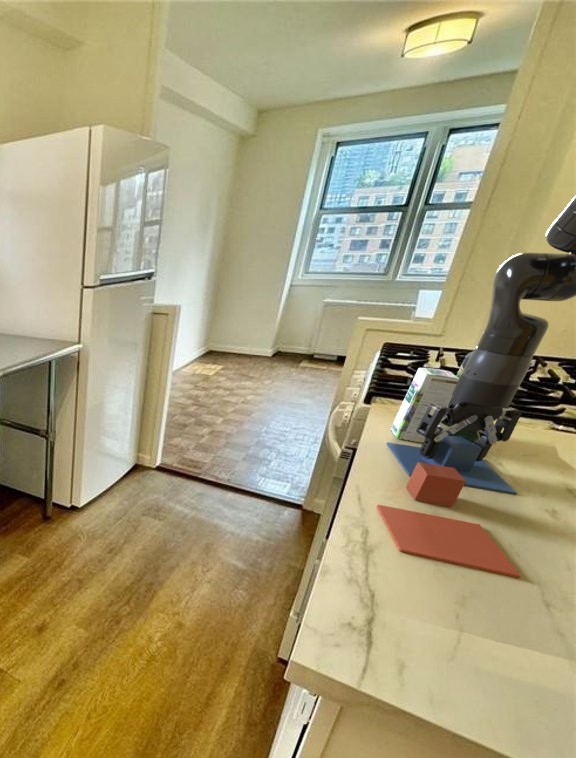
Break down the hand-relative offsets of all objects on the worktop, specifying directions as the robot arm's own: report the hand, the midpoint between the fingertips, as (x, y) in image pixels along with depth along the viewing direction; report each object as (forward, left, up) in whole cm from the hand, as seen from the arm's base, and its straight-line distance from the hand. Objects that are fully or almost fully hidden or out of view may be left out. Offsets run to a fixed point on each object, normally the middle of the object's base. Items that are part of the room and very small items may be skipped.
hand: (449, 458), depth 91 cm
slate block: (0, 0, -1) cm, 1 cm away
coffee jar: (-7, -19, -2) cm, 20 cm away
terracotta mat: (+9, +29, -2) cm, 31 cm away
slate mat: (0, 0, -2) cm, 2 cm away
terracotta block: (+7, +15, -2) cm, 17 cm away
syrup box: (+2, -14, -2) cm, 14 cm away
